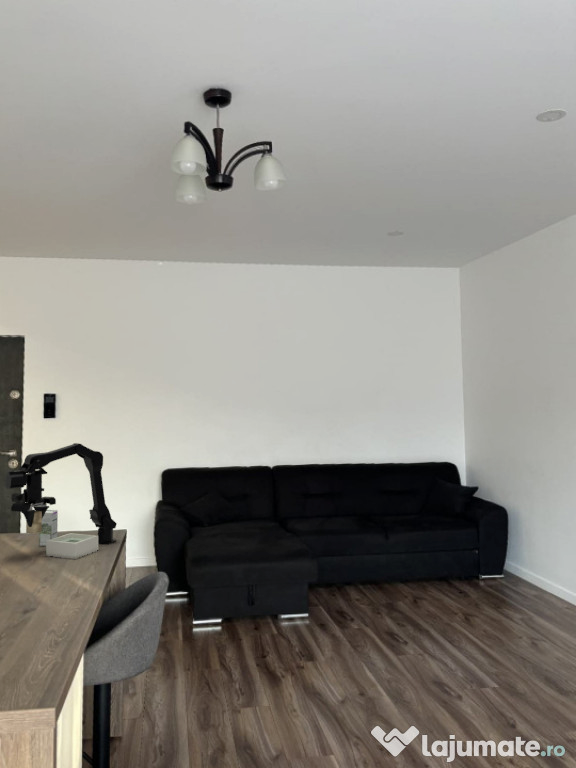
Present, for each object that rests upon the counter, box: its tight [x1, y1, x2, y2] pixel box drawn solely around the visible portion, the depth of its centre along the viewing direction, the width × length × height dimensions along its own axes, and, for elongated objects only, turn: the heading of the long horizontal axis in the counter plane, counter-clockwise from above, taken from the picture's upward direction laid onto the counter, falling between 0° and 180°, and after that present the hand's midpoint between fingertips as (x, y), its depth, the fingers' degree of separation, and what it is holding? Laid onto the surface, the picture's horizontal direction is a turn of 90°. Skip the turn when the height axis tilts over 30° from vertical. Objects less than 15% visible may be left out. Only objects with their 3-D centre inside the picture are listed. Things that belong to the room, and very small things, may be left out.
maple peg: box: [25, 511, 42, 535], centre depth 249 cm, size 4×4×8 cm
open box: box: [45, 532, 99, 560], centre depth 252 cm, size 14×14×6 cm
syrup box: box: [38, 509, 59, 547], centre depth 266 cm, size 6×6×14 cm
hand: (34, 525), depth 249 cm, fingers closed on maple peg, 4 cm apart
